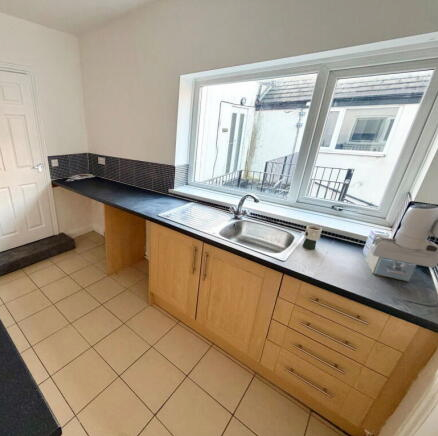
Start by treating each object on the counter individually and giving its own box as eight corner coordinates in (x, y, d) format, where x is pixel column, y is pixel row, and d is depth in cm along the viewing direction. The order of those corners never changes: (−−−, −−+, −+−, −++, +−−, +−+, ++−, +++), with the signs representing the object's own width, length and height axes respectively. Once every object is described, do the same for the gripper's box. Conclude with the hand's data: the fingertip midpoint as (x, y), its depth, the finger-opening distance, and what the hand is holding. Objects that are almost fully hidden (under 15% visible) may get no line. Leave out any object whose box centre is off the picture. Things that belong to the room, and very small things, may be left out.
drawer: (412, 286, 104) (420, 270, 101) (378, 278, 109) (384, 263, 107) (398, 267, 119) (404, 252, 116) (368, 260, 124) (373, 247, 121)
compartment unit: (408, 281, 109) (417, 263, 105) (372, 273, 115) (379, 255, 111) (397, 266, 121) (405, 249, 117) (365, 260, 127) (371, 243, 123)
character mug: (301, 242, 144) (306, 222, 139) (315, 246, 141) (321, 225, 136) (300, 250, 136) (306, 229, 130) (315, 254, 132) (322, 233, 127)
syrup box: (365, 257, 129) (375, 233, 123) (361, 252, 134) (371, 228, 128) (379, 260, 127) (390, 235, 121) (374, 254, 132) (384, 230, 126)
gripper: (379, 238, 105) (368, 266, 110) (447, 250, 95) (431, 279, 100) (375, 233, 110) (365, 259, 115) (439, 244, 100) (425, 272, 105)
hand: (396, 269), depth 107 cm, fingers closed
